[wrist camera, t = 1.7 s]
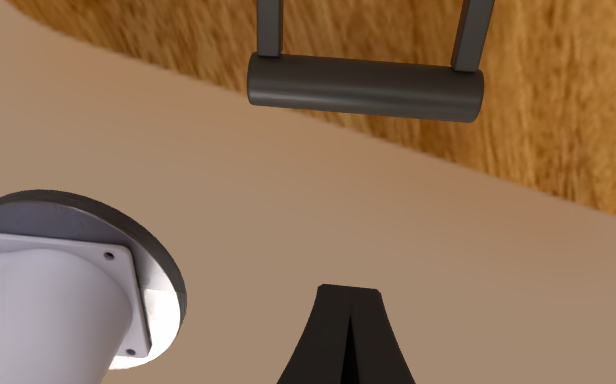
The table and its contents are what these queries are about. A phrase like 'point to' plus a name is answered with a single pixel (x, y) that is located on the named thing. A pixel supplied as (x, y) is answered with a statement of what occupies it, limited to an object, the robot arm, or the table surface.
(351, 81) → the drawer
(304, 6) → the table surface
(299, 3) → the table surface
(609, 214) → the table surface
